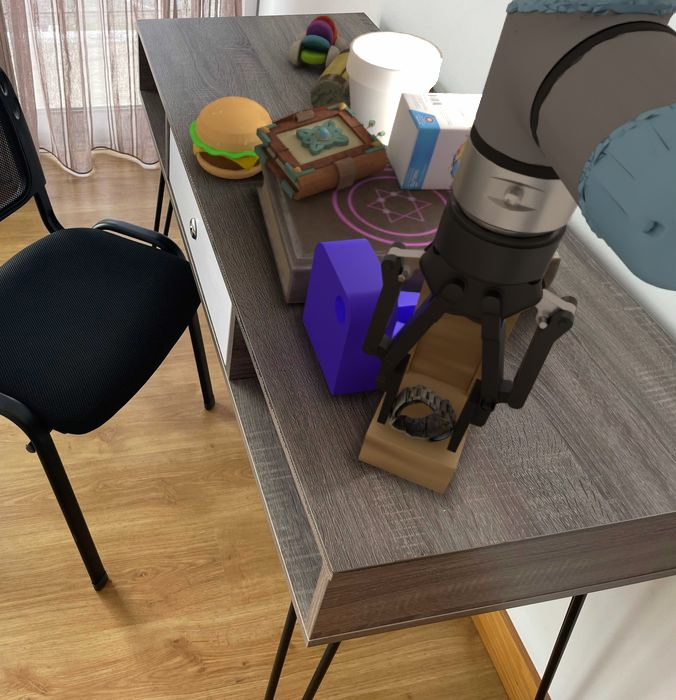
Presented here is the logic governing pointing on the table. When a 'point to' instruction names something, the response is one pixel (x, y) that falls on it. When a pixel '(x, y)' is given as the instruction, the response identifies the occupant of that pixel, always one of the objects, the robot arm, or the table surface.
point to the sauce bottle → (333, 83)
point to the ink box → (430, 138)
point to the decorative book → (320, 151)
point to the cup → (388, 75)
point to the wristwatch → (428, 426)
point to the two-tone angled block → (449, 383)
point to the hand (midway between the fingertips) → (419, 425)
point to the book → (352, 224)
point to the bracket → (348, 312)
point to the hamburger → (229, 137)
